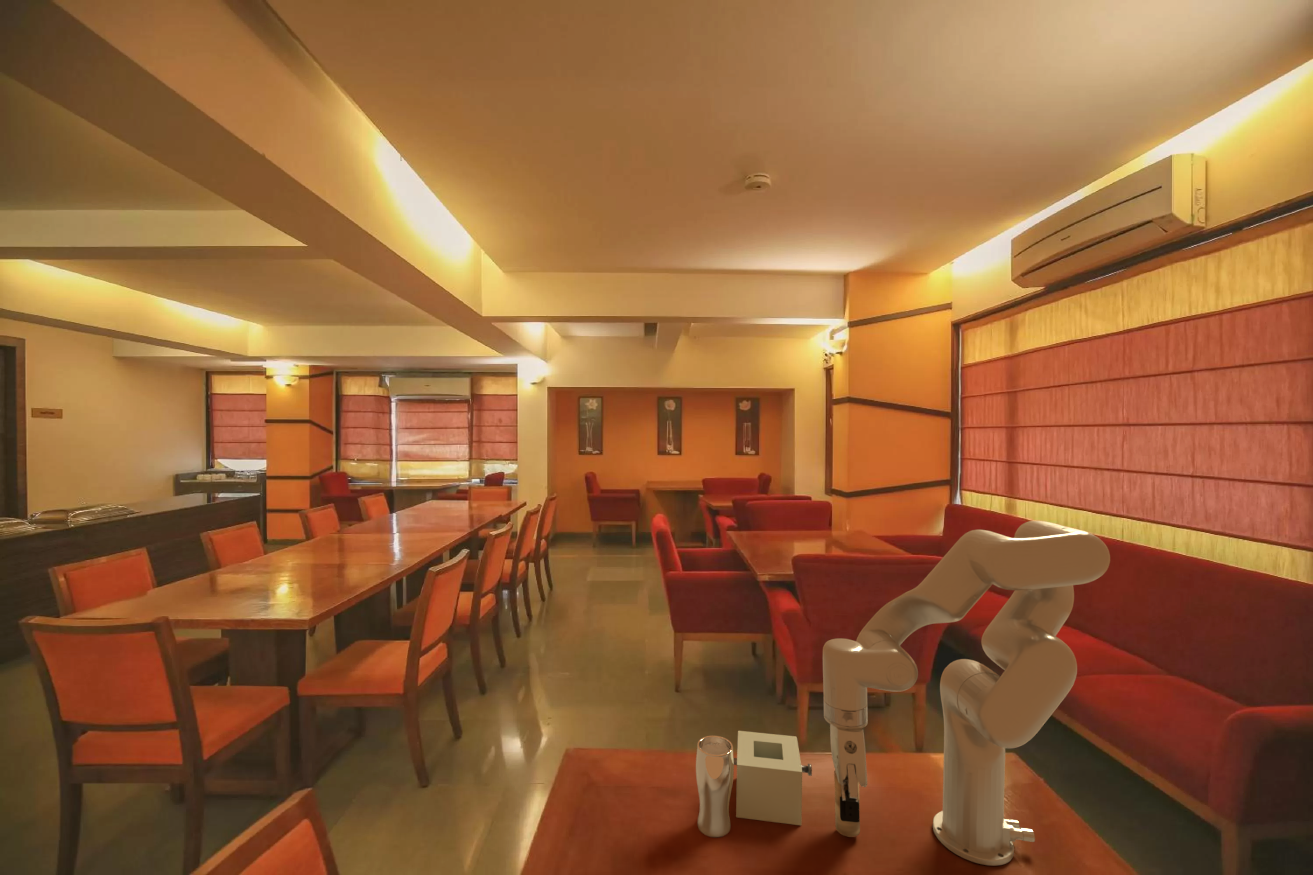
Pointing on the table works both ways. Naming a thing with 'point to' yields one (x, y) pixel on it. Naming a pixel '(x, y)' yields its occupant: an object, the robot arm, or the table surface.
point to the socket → (769, 778)
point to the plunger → (807, 769)
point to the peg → (842, 826)
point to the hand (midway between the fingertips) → (847, 809)
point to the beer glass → (714, 784)
